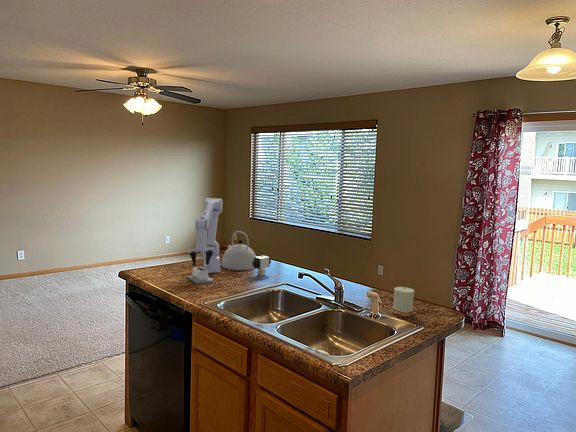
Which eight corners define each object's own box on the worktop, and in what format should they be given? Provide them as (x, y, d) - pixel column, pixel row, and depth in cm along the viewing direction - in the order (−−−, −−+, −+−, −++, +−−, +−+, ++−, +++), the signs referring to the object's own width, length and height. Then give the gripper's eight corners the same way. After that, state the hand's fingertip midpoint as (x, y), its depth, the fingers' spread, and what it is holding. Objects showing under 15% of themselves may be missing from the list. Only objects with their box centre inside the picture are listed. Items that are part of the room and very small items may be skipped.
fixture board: (203, 275, 249) (203, 274, 249) (213, 281, 237) (213, 280, 237) (187, 277, 243) (187, 275, 243) (196, 283, 232) (196, 281, 231)
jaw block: (201, 275, 246) (201, 266, 245) (208, 279, 237) (208, 270, 237) (192, 276, 243) (192, 267, 242) (199, 280, 235) (199, 271, 234)
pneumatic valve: (270, 274, 261) (271, 254, 260) (257, 277, 252) (258, 257, 251) (263, 272, 264) (264, 253, 263) (250, 275, 255) (251, 255, 254)
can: (411, 311, 206) (414, 287, 205) (412, 317, 197) (415, 292, 196) (392, 309, 208) (394, 284, 207) (392, 315, 199) (394, 289, 198)
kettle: (212, 263, 281) (214, 229, 278) (241, 259, 296) (242, 227, 293) (234, 271, 263) (236, 235, 260) (264, 267, 278) (265, 233, 275)
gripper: (191, 242, 230) (190, 267, 232) (216, 241, 238) (215, 265, 240) (186, 240, 236) (186, 264, 238) (211, 239, 244) (210, 262, 246)
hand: (200, 264), depth 239 cm, fingers open, 7 cm apart
